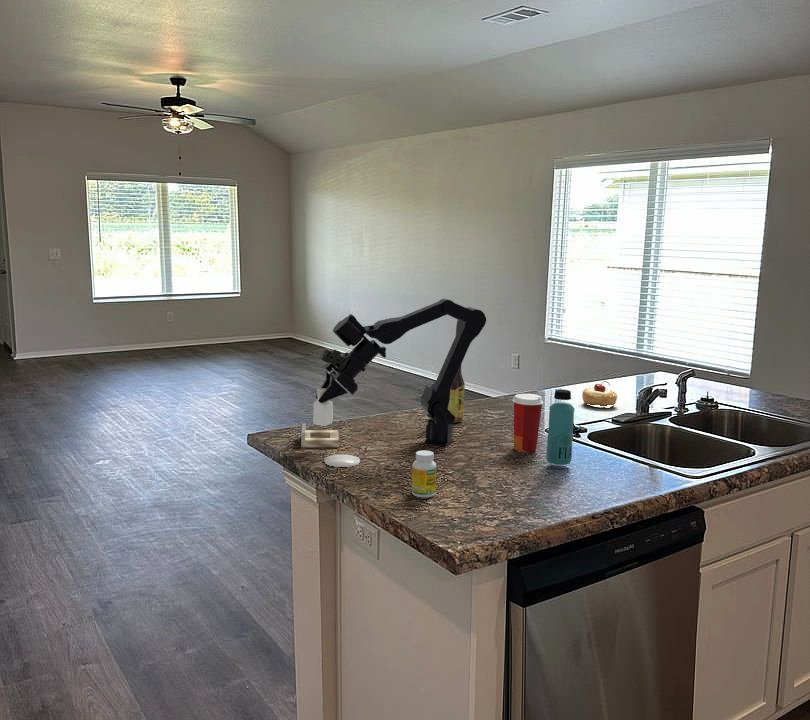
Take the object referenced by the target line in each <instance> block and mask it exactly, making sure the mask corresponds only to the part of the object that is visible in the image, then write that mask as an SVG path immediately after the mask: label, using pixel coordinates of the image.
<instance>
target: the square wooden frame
mask: <svg viewBox="0 0 810 720" xmlns="http://www.w3.org/2000/svg"><path fill="white" fill-rule="evenodd" d="M300 435H301V437H300V439H301V440H300V441H301V444H300V445H301V446H300V447H301V448H339V445H340V443H339V442H340V439H339V430H337V429H335V430H334V429H331V430H330V429H326V430H325V429H318V430H317V429H316V430H312V429H310V430H309V429H307V423H302V424H301V434H300Z"/></svg>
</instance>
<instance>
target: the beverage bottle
mask: <svg viewBox="0 0 810 720" xmlns="http://www.w3.org/2000/svg"><path fill="white" fill-rule="evenodd" d="M571 392H572V391H571V390H568V389H563V388H562V389H555V391H554V395H553V396H554V397H553V399H555V400H561V401H555V402H553V403H552V404H550V406H549V407H548V408H549V412H548V413H549V414H548V430H547V432H548V433H547V440H546V449H545V450H546V453H545V455H546V456H545V457H546V459H545V460H546V461H547V463H549V464H551V465H559V466H565V465H566V466H568V465H569V464H571V461H572V454H573V446H574V445H573V440H574V438H573V436H574V435H573V434H574V425H575V423H574V422H575V421H574V420H575V417H574V416H575V408H574V406H573V404H571V403H570V402H567V401H569V400H571V399H572V397H571V396H572V393H571ZM565 401H566V402H565Z"/></svg>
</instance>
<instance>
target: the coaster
mask: <svg viewBox="0 0 810 720" xmlns="http://www.w3.org/2000/svg"><path fill="white" fill-rule="evenodd" d="M323 462H325V463H324V464H325V465H326V464H327V465H326V466H328V465H329V467H331V466H334V467H333V468H338V467H347V468H353V467H356V465H357V466H359V465H360V464H361V458H359V457H357V456H356V455H351V454H342V453H341V454H333V455H329V456H326V457H325V458H324V460H323ZM359 463H360V464H359ZM352 466H353V467H352Z"/></svg>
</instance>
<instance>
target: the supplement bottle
mask: <svg viewBox="0 0 810 720" xmlns="http://www.w3.org/2000/svg"><path fill="white" fill-rule="evenodd" d="M434 458H435V455H434V452H433V451H431V450H418V451H416V452H415V460H414V461H413V463H412V469H411V470H412V472H411V473H412V475H411V476H412V477H411V494H412V496H415V497H418V498H423V499H424V498H426V499H427V498H432V497H434V496H435V494H436V490H437V489H436V486H437V485H436V484H437V481H436V480H437V463H436V462H435V461H434Z"/></svg>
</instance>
